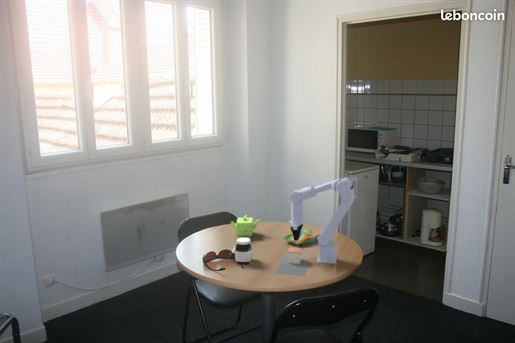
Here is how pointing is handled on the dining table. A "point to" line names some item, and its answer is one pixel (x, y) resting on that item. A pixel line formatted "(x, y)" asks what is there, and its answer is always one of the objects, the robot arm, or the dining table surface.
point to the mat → (292, 267)
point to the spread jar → (243, 251)
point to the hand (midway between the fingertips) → (296, 239)
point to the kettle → (245, 226)
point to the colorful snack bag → (303, 237)
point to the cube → (294, 255)
